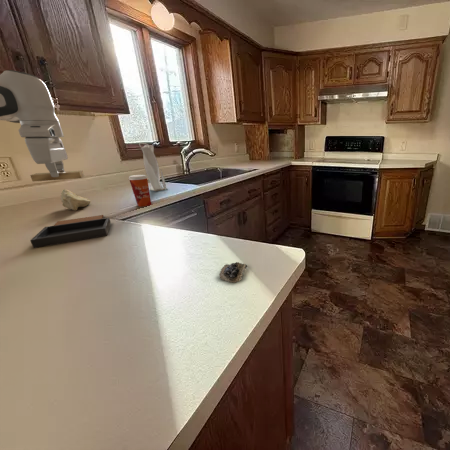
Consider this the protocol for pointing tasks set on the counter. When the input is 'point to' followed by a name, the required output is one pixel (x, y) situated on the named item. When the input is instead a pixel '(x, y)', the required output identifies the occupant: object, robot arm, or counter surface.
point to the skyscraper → (152, 168)
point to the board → (62, 176)
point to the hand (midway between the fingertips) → (58, 175)
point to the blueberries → (232, 272)
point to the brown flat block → (79, 220)
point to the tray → (71, 232)
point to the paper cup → (140, 189)
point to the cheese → (73, 200)
